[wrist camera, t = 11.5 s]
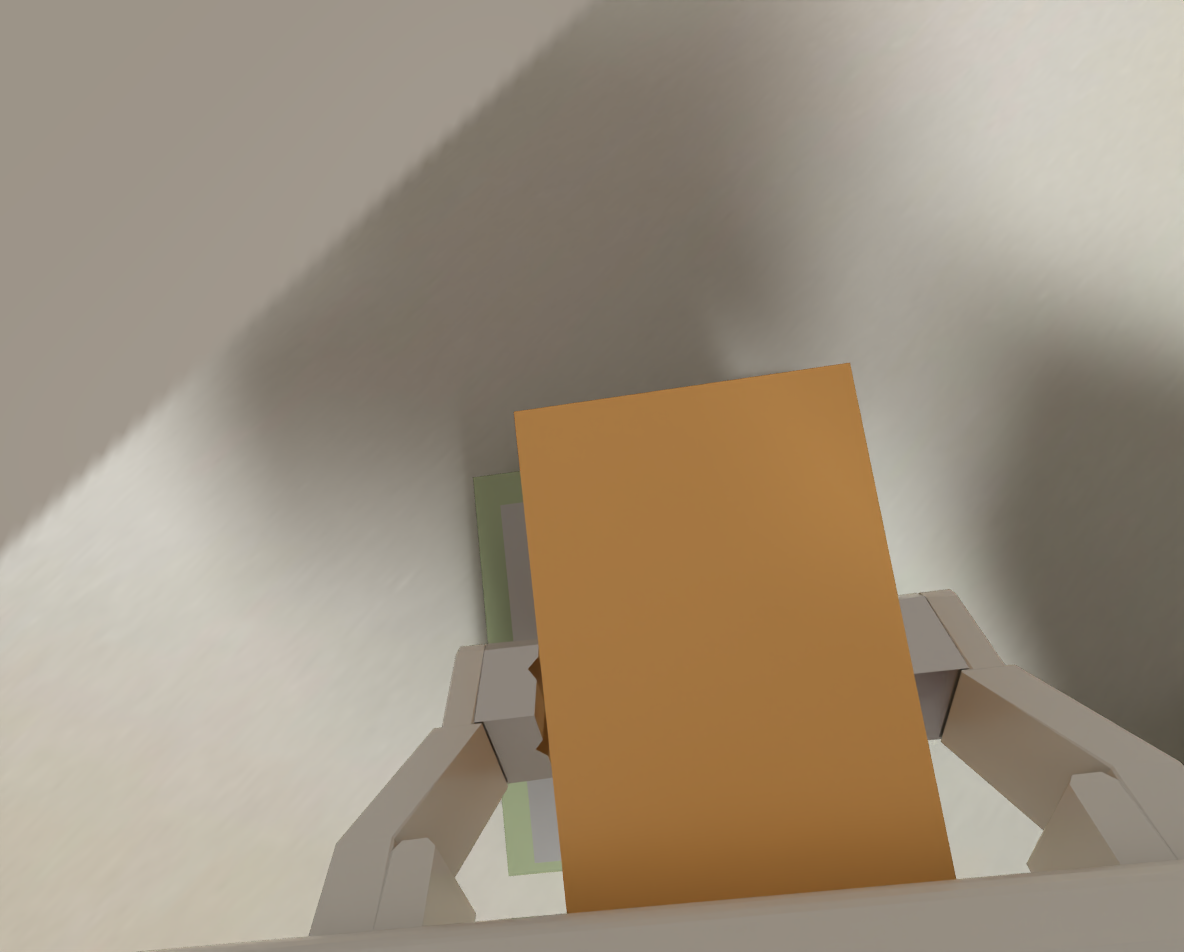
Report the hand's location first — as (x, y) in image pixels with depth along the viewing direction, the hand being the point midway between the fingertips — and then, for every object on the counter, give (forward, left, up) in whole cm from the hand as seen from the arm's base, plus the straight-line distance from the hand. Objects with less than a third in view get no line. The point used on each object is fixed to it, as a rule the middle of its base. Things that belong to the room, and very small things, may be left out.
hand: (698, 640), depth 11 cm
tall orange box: (0, +1, -7) cm, 7 cm away
